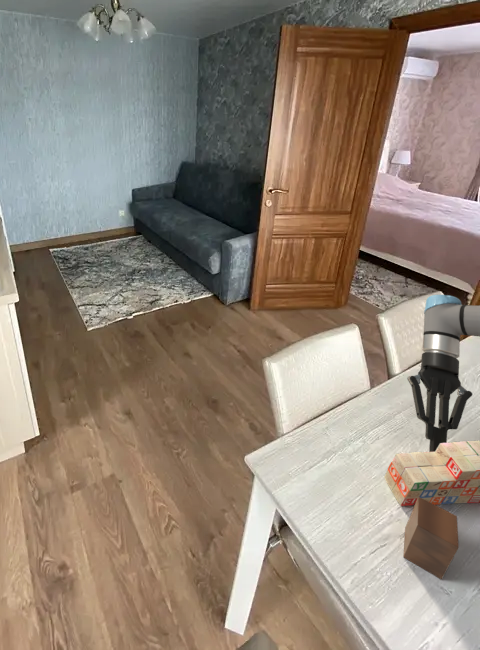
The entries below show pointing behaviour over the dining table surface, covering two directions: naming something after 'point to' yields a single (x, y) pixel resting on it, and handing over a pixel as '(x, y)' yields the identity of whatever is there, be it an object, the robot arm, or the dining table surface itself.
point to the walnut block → (431, 537)
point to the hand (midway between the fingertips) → (434, 457)
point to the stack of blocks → (437, 474)
